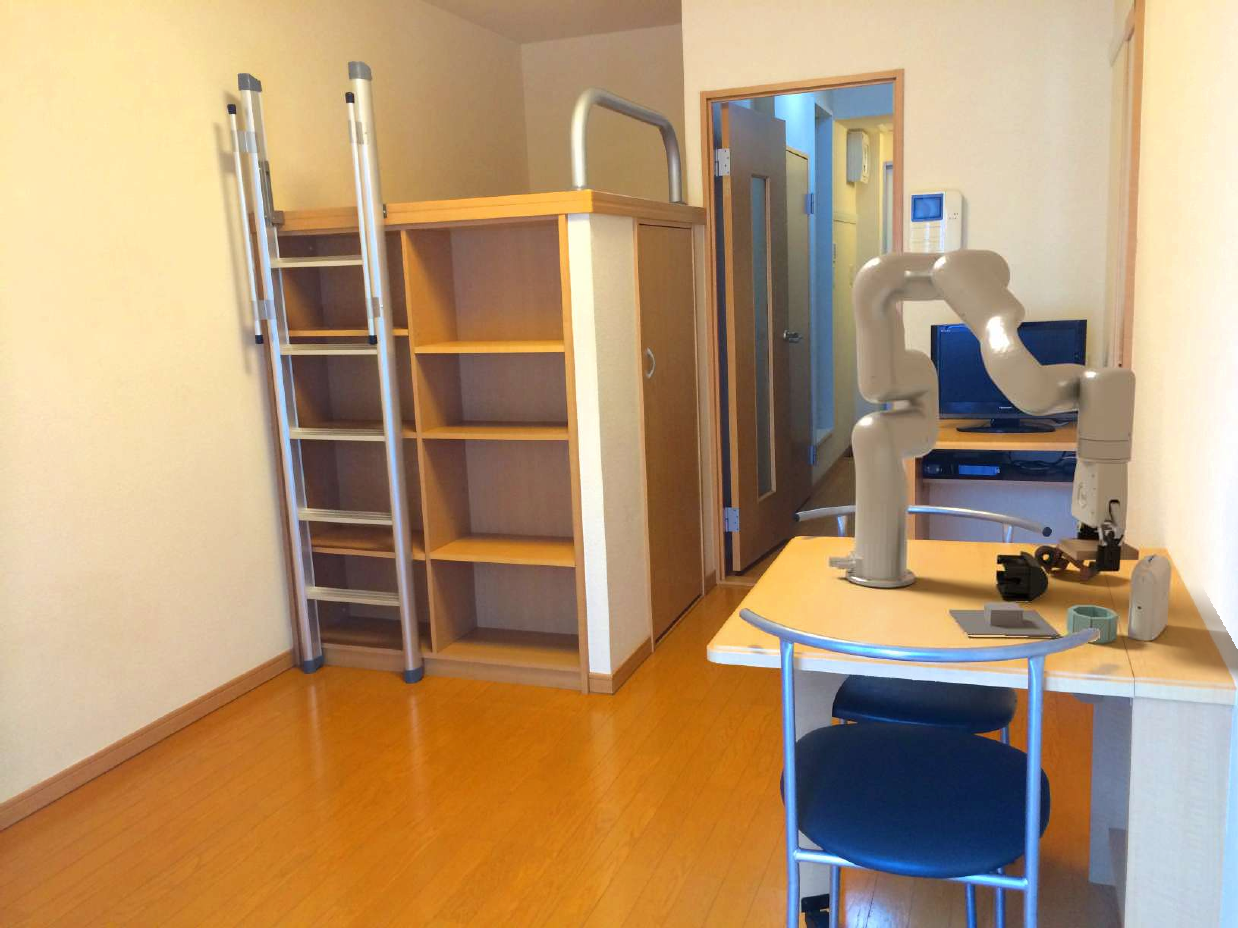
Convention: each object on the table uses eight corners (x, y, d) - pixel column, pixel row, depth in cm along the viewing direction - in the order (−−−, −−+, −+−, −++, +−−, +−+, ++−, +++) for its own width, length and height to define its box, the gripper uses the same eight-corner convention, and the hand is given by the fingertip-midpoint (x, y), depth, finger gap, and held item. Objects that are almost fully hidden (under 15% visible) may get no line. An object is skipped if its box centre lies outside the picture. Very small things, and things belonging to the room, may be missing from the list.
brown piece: (1076, 569, 196) (1098, 538, 192) (1092, 604, 189) (1116, 572, 184) (1019, 556, 195) (1040, 524, 190) (1033, 590, 187) (1055, 558, 183)
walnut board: (1076, 559, 152) (1076, 550, 152) (1058, 548, 160) (1059, 539, 159) (1138, 559, 152) (1139, 550, 151) (1118, 548, 159) (1118, 539, 159)
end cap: (1047, 604, 174) (1049, 566, 173) (1004, 602, 176) (1005, 564, 175) (1036, 587, 184) (1038, 551, 183) (995, 585, 186) (996, 549, 184)
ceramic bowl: (1076, 643, 155) (1078, 618, 154) (1061, 629, 162) (1063, 605, 161) (1121, 644, 155) (1123, 618, 154) (1104, 629, 161) (1106, 605, 160)
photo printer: (1154, 643, 155) (1160, 565, 152) (1123, 637, 157) (1129, 560, 155) (1170, 625, 162) (1176, 550, 160) (1140, 620, 165) (1146, 546, 163)
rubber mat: (967, 637, 159) (968, 617, 158) (949, 612, 170) (949, 594, 170) (1060, 638, 157) (1061, 618, 157) (1035, 613, 169) (1036, 595, 169)
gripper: (1057, 441, 162) (1052, 549, 165) (1100, 459, 145) (1093, 579, 148) (1106, 441, 161) (1100, 549, 164) (1155, 459, 144) (1147, 579, 147)
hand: (1097, 563), depth 156 cm, fingers closed on walnut board, 7 cm apart
